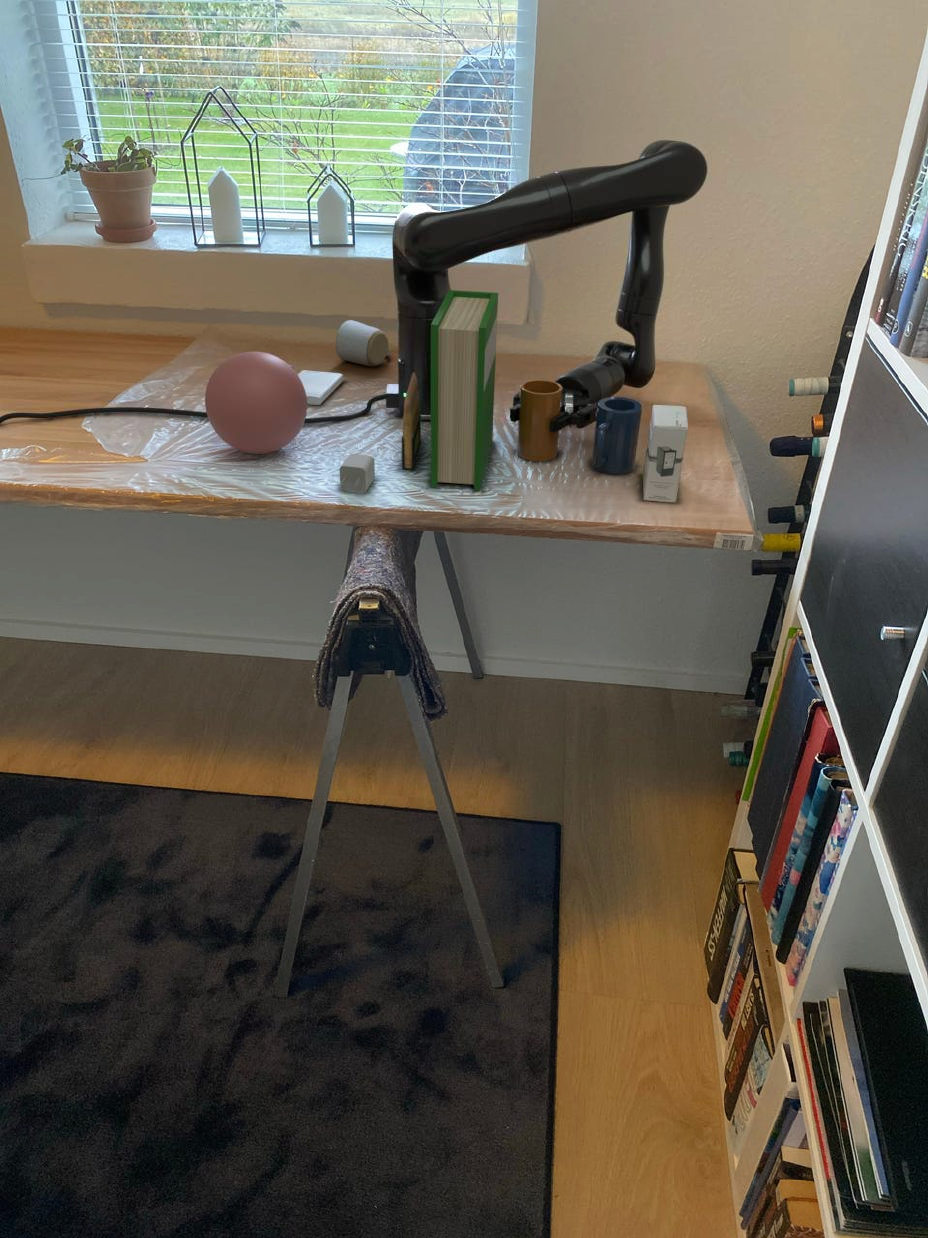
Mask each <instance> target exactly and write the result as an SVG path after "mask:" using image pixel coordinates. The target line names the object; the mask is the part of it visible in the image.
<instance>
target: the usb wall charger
mask: <svg viewBox="0 0 928 1238" xmlns="http://www.w3.org/2000/svg"><path fill="white" fill-rule="evenodd" d="M375 466H376V465H375V458H374V457H373V456H372V455H368V454H357V453H350V454H349V455H348V456H347V457H346V459H345V460H344V462H343V463H342V464H341V466H340V467H339V470H338V471H339V486H340V489H341V490H342V491H344V492H349V493H359V494H364V493H365V492H367V490H368V489H369V488H370V486H371V484H372V483H373V481H374V480H375V479H376V467H375Z"/></svg>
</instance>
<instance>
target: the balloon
mask: <svg viewBox="0 0 928 1238" xmlns="http://www.w3.org/2000/svg"><path fill="white" fill-rule="evenodd" d="M204 407H205V412H207V416H208V421H209V423H210V425H211V427H212V429H213V431H214V432H215V433H216V434H217V436H218V437H219V438H220V439H221V440H222V441H223V442H225V443H226V444H227V445H229V446H230V447H232V448H234V449H236V450H238V451H240V452H243V453H247V454H254V455H263V454H264V455H265V454H269V453H270V454H271V453H274V452H277V451H279V450H282V449H283V448H285V447H286V446H288V445H289V444H290V443H291V442H293V440H294V439H296V437H297V436H298V435H299V433H300V432H301V431H302V428H303V427H304V425H305V424H304V421H305V418H307V413H308V404H307V397H306V392H305V389H304V386H303V383H302V381H301V380H300V378H299V376H298V373H297V371H295V367H294V366H293V365H292V364H288V362H286V361H285V360H283V359H282V358H280V357H278V356H276V355H273V354H271V353H268V352H263V351H244V352H239V353H237V354H234V355H232V356H230V357H228V358H226V359H225V360H223V362H221V363H220V364H219V365H218V366H217V367H216V369H215V370H214V371H213V373H212V374H211V375H210V378H209V380H208V382H207V384H206V389H205V396H204Z"/></svg>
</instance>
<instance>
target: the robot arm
mask: <svg viewBox="0 0 928 1238" xmlns="http://www.w3.org/2000/svg"><path fill="white" fill-rule="evenodd" d="M707 175H708V163H707V160H706V157H705V155H704V153H702V151H701V150H700V149H699V148H697V147H696V146H694V145H693V144H692V143H688V142H686V141H680V140H671V139H660V140H655V141H652V142H651V143H649V144H648V145H646V146H645V147H644V149H643V150H642V151H641V153H640V154H639V156H638V158H637V159H635V160H631V161H628V162H624V163H620V164H619V163H618V164H611V165H596V166H585V167H584V166H583V167H576V168H569V169H563V170H557V171H554V172H550V173H547V174H542V175H539V176H535V177H532V178H530V179H526V180H524V181H522V182H520V183H517V184H516V185H514V186H512V187H511V188H509V189H507V190H505V191H503V192H502V193H500V194H499V195H498V196H496V197H494V198H492V199H490V200H488V201H486V202H483V203H479V204H476V205H471V206H468V207H462V208H457V209H451V210H440V209H438V208H437V207H435V206H434V205H431V204H429V203H424V202H417V203H412V204H409V205H408V206H406V207H405V208H403V210H401V211H400V213H399V214H398V215H397V216H396V219H395V221H394V224H393V229H392V235H391V236H392V237H391V238H392V240H391V243H392V244H391V245H392V246H391V247H392V268H393V269H392V270H393V271H392V273H393V286H394V292H395V296H396V305H397V308H396V309H397V339H398V341H397V344H398V345H397V347H398V349H397V351H398V353H397V354H398V359H397V380H398V381H397V383H387V384H386V389H385V393H384V394H380V395H375V396H373V397H371V398H370V399H369V400H368V401H367V403H366V407H365V408H364V409H362V410H360V411H359V412H356V413H352V414H347V415H333V416H324V417H323V416H321V417H306V418H305V421H304V424H303V425H305V424H307V425H308V424H319V423H321V424H322V423H330V422H344V421H348V420H352V419H356V418H360V417H363V416H366V415H367V414H369V412H370V411H371V410H372V406H373V404H374V403H376V402H379V401H383V400H385V408H386V409H398V417H404V402H405V397H406V394H407V391H408V387H409V384H410V381H411V378H412V375H413V373H414V372H415V374H416V377H417V382H418V395H419V403H420V414H421V421H431V323H432V322H433V320H434V318H435V316H436V314H437V312H438V310H439V308H440V306H441V304H442V302H443V301H444V299H445V297H446V295H447V293H448V291H449V290H452V287H451V284H450V283H451V281H450V277H449V276H450V275H449V269H452V268H454V267H456V266H458V265H461V264H463V263H466V262H468V261H471V260H473V259H476V258H478V257H481V256H485V255H487V254H490V253H493V252H496V251H500V250H505V249H509V248H514V247H518V246H522V245H525V244H530V243H534V242H537V241H542V240H547V239H550V238H554V237H557V236H561V235H564V234H568V233H571V232H575V231H578V230H581V229H584V228H586V227H590V226H594V225H596V224H599V223H602V222H605V221H608V220H612V219H614V218H616V217H618V216H622V215H626V214H629V213H631V219H630V233H629V241H628V249H627V257H626V263H625V269H624V274H623V279H622V284H621V287H620V288H621V289H620V292H619V297H618V301H617V302H618V303H617V308H616V312H615V317H614V319H615V321H614V322H615V325H617V327H619V328H620V329H622V330H624V331H626V332H628V333H629V334H630V335H631V336H632V338H633V341H634V344H632V343H631V344H630V343H628V342H627V343H626V342H623V341H619V340H610V341H606V342H604V343H603V344H602V345H601V346H600V348H599V350H598V352H597V353H596V355H594V357H593V359H591V360H590V361H589V362H586V363H584V364H581V365H578V366H576V367H575V368H573V369H571V370H569V371H568V372H566V373H564V374H563V375H561V376H559V377H558V378H556V379H555V380H554V382H556V383H559V384H560V385H561V386H562V388H563V390H562V402H561V413H559V414H558V415H556V416H555V417H553V418H552V419H551V421H550V432H553V433H555V432H557V431H559V432H560V431H562V430H563V429H565V428H571V427H572V426H574V425H575V428H577V429H584V428H586V427H587V426H590V425H592V424H594V423H596V416H597V407H598V402H599V401H600V400H601V399H604V398H608V397H614V396H615V395H616V394H617V393H618V392H619V391H620V390H621V389H622V388H623V387H624V386H626V387H630V388H635V389H642V388H644V387H645V386H647V385H649V383H650V381H651V380H652V378H654V374H655V370H656V320H657V316H658V313H659V309H660V305H661V304H660V303H661V299H662V295H663V288H664V283H665V259H664V258H665V257H664V255H665V254H664V239H665V237H664V236H665V228H666V222H667V217H668V213H669V210H670V207H671V206H676V205H680V204H684V203H685V202H688V201H689V200H691V199H692V198H694V197H695V196H696V195H697V194H698V193H699V191H700V190H701V189H702V187H703V186H704V184H705V182H706V180H707ZM519 405H520V390H519V391H518V392H516V393H515V394H514V395H513V399H512V407H510V409H509V418H510V422H513V423H518V422H519ZM106 413H107V414H109V413H110V414H111V413H141V414H142V413H147V414H164V415H165V414H166V415H177V416H187V417H188V416H189V417H199V418H208V416H207V412H206V411H197V410H187V409H186V410H185V409H177V408H175V409H174V408H163V407H140V406H119V407H118V406H114V407H93V408H92V407H91V408H79V409H70V410H69V409H68V410H61V411H53V412H23V411H22V412H10V413H6V414H3V415H0V425H1V424H2V423H4V422H6V421H8V420H12V419H23V418H24V419H52V418H60V417H71V416H79V415H89V414H106Z"/></svg>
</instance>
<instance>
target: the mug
mask: <svg viewBox="0 0 928 1238" xmlns="http://www.w3.org/2000/svg"><path fill="white" fill-rule="evenodd" d="M642 412H643V404H642V403H641V402H640V401H638V400H636V399H634V398H630V397H625V396H611V397H608V398H604V399H601V400H600V401H599V402H598V407H597V416H596V421H595V426H594V437H593V445H592V446H593V447H592V456H591V466H592V468H593V469H594V470H596V471H597V472H600V473H603V474H606V475H613V476H617V475H626V474H629V473H631V472H633V471H634V469H635V464H636V460H637V459H636V458H637V450H638V443H639V435H640V427H641V421H642Z"/></svg>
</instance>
